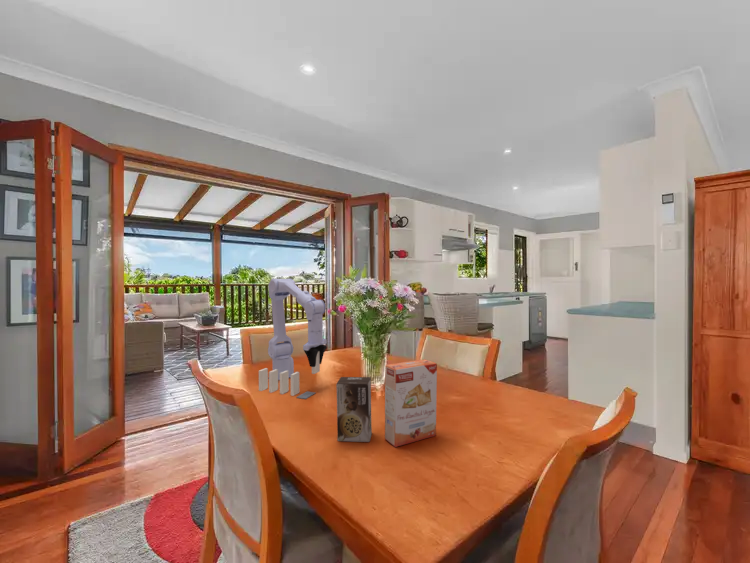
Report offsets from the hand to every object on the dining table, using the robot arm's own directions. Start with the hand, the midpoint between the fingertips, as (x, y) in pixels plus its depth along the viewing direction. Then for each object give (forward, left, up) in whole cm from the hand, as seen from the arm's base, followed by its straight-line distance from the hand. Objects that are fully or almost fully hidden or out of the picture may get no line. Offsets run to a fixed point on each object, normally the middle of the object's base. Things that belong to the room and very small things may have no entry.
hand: (315, 365), depth 139 cm
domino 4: (+7, -5, -10) cm, 13 cm away
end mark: (+7, 0, -10) cm, 12 cm away
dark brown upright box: (+31, +31, -10) cm, 45 cm away
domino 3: (+7, -10, -10) cm, 16 cm away
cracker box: (+26, +46, -10) cm, 54 cm away
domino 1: (+7, -20, -10) cm, 23 cm away
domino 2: (+7, -15, -10) cm, 19 cm away
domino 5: (0, 0, -3) cm, 3 cm away
